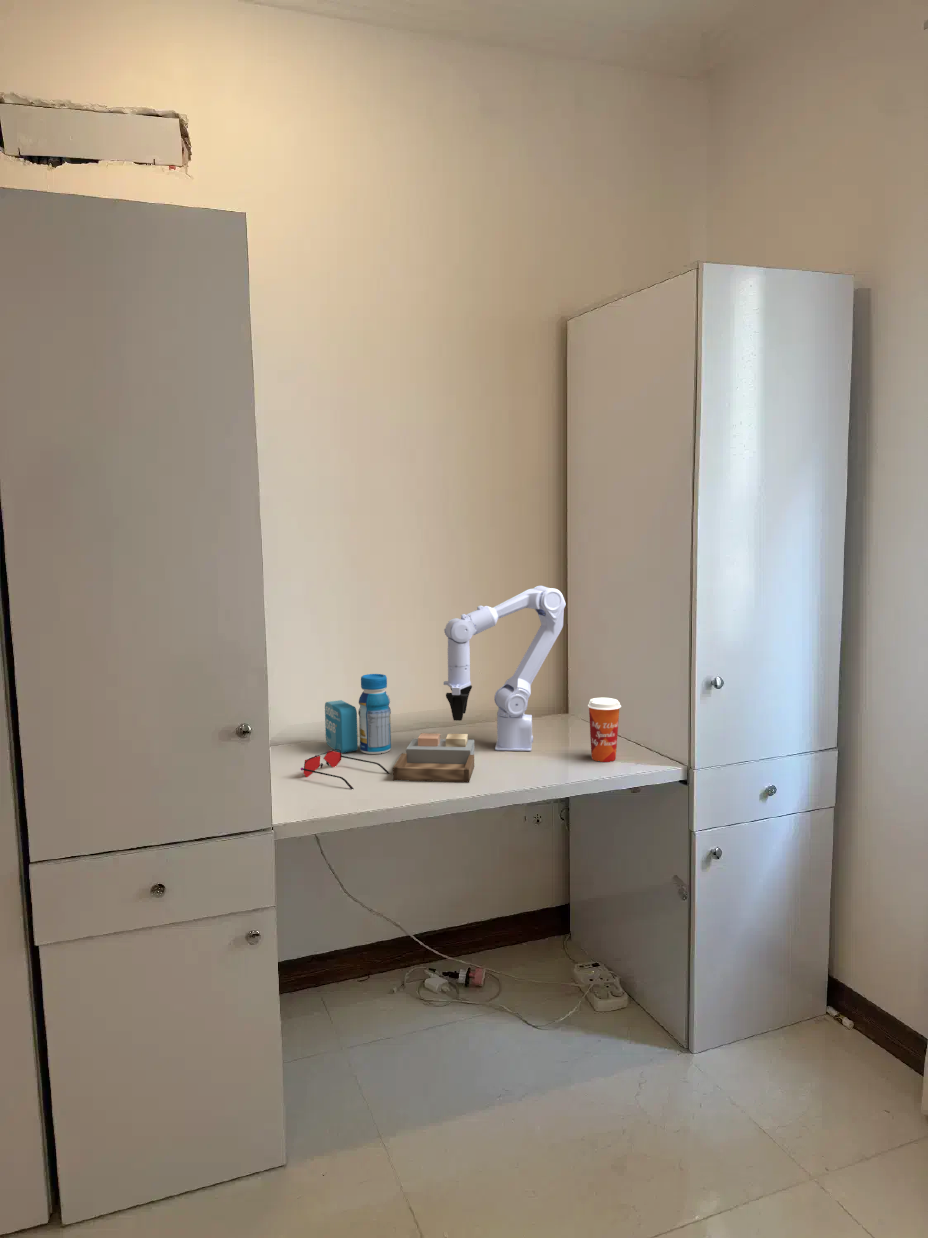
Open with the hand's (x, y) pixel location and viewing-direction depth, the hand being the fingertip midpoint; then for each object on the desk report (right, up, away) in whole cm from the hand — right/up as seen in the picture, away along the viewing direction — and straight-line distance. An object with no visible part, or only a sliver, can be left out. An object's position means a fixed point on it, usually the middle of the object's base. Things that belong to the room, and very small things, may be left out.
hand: (459, 716), depth 228 cm
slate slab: (-5, -10, -6) cm, 13 cm away
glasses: (-27, -13, -18) cm, 35 cm away
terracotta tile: (-8, -6, -6) cm, 11 cm away
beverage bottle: (-22, -10, +3) cm, 24 cm away
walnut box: (-6, -12, -17) cm, 22 cm away
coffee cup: (+36, -10, -6) cm, 38 cm away
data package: (-32, -9, +6) cm, 33 cm away
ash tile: (-1, -6, -6) cm, 9 cm away
